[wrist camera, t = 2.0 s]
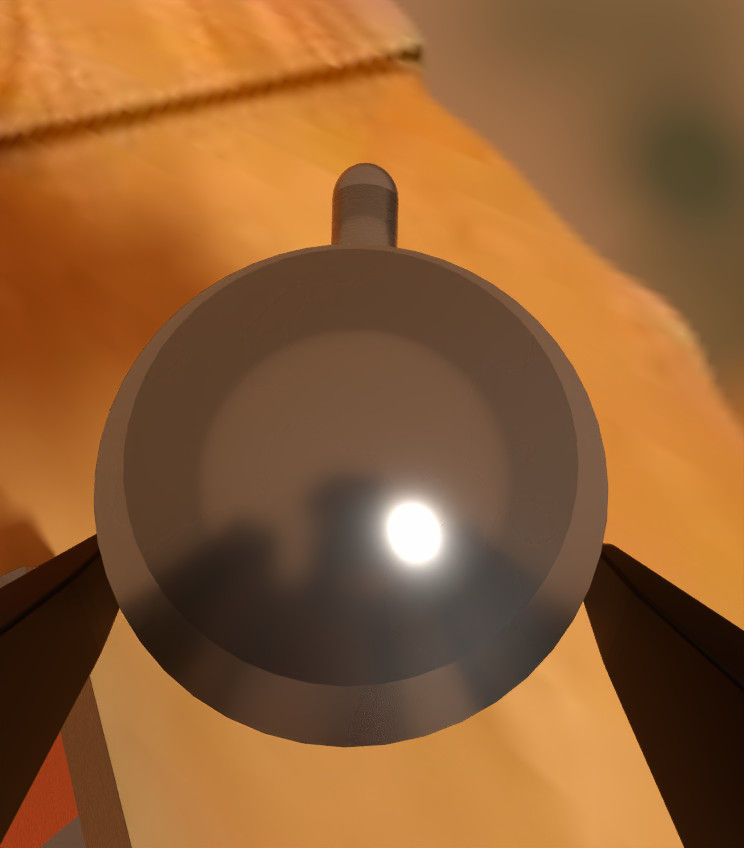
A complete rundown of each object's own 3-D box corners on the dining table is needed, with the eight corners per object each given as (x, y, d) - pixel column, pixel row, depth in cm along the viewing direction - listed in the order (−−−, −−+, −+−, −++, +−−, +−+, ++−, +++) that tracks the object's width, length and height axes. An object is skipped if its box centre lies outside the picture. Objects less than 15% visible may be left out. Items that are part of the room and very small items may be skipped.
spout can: (433, 621, 16) (700, 780, 3) (281, 617, 16) (-28, 769, 3) (428, 406, 19) (564, 54, 6) (299, 403, 19) (168, 39, 6)
